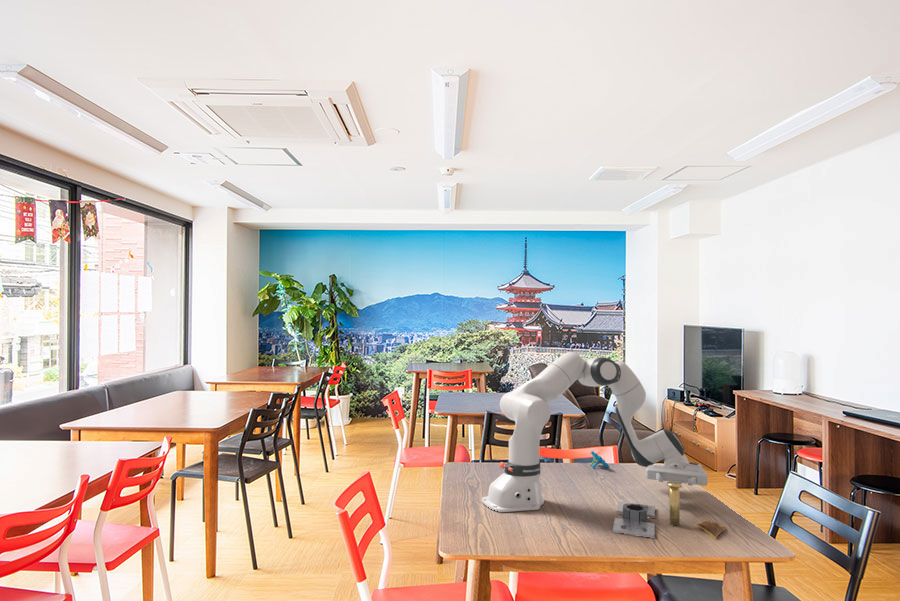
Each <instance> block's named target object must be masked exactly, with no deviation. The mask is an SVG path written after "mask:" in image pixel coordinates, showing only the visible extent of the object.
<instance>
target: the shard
mask: <svg viewBox="0 0 900 601" xmlns="http://www.w3.org/2000/svg"><path fill="white" fill-rule="evenodd" d="M696 526H697V528H698V529H700V528H701V529H700V530H702V529H703V530H704V532H705V533H706V534H707V535H708V534H709V535H708V536H710V537H711V536H712V537H711V538H713V539H714V538H715V540H717V539H718V538H717V537H719V536H720V535H719V534H722V533H723V532H724V531H726V526H724V525H723V524H720V523H717V522H713V521H710V520H705V519H704V520H702V521H701V522H700V523H696ZM703 530H702V531H703ZM722 531H723V532H722ZM721 532H722V533H721ZM718 535H719V536H718ZM716 538H717V539H716Z"/></svg>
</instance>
